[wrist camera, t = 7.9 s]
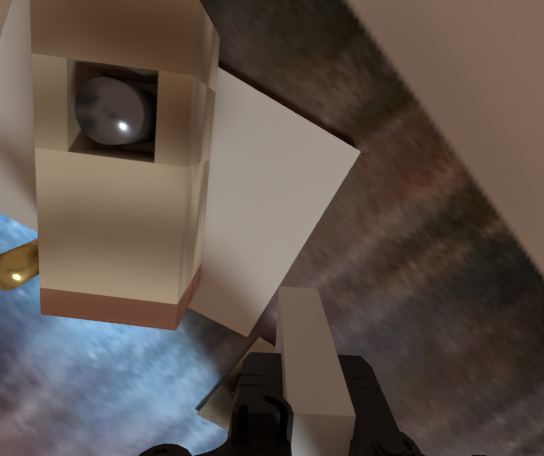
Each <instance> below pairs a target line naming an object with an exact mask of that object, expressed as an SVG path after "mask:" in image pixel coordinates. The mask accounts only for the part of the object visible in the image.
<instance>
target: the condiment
mask: <svg viewBox="0 0 544 456" xmlns="http://www.w3.org/2000/svg"><path fill="white" fill-rule="evenodd" d="M250 352H264V353H276V348H275V347H274V346H273V345H271V344H270V343H268V342H267V341H265V340H264V339H262V338H261V337H259V338H258V339H257V340H256V341H255V342H254V344H253V345H252V346H251V347H250V348H249V350H248V351H247V352H246V353H245V354H244V356H243V357H242V358H241V359H240V360H239V362H238V363H237V364H236V365H235V367H234V368H233V369H232V370H231V372H230V373H229V374H228V376H227V377H226V378H225V379H224V381H223V382H222V384H221V385H220V386H219V387H218V388H217V389H216V391H215V392H214V393H213V394H212V395H211V397H210V398H209V399H208V401H207V402H206V403H205V405H204V406H203V407H202V408H201V410H200V411H199V412H198V413H197V415H199V416H201V417H203V418H204V419H208V420H209V421H211V422H213V423H215V424H217V425H218V426H220V427H222V428H224V429H226V430H228V438H227V440H228V439H229V438H230V436H231V429H232V411H233V408H234V406H235V403H236V402H237V401H238V394H239V386H240V377H241V369H242V362H243V360H244V359H245V358H246V356H247V355H248V354H249V353H250ZM232 392H233V393H234V394H232Z"/></svg>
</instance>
